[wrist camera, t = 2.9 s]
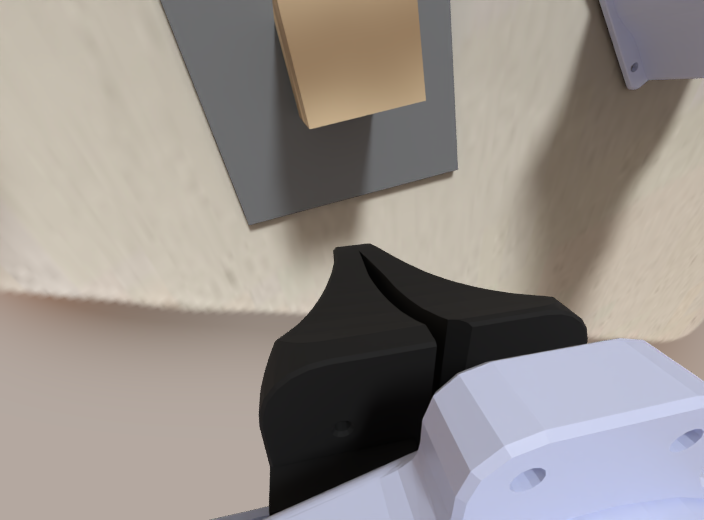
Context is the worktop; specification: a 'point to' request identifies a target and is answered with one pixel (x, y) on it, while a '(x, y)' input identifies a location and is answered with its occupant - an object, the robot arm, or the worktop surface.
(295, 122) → the mat
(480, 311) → the robot arm
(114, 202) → the worktop surface
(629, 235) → the worktop surface
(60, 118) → the worktop surface
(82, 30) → the worktop surface
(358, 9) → the oak block
